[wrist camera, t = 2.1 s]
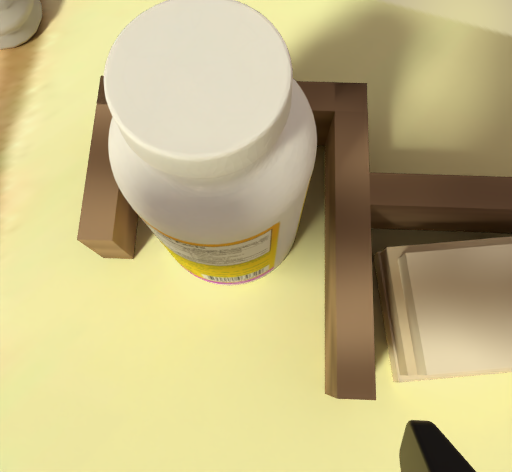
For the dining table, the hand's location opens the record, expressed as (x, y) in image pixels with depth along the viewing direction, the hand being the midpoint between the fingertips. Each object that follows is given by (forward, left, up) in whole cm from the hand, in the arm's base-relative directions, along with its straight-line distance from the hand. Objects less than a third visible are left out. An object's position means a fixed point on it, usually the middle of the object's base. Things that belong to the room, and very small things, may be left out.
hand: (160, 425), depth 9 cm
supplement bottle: (+5, -6, -14) cm, 16 cm away
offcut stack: (-6, -10, -14) cm, 18 cm away
